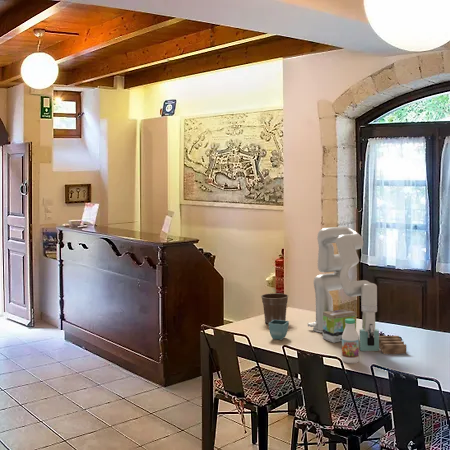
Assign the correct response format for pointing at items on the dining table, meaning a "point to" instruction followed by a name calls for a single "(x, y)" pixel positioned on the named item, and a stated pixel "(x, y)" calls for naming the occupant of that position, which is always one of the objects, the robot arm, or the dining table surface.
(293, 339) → the dining table surface
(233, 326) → the dining table surface
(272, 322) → the flower pot
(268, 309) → the plant pot
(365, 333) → the mint green block
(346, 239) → the robot arm
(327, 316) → the tea box
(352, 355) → the milk bottle
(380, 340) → the rack
